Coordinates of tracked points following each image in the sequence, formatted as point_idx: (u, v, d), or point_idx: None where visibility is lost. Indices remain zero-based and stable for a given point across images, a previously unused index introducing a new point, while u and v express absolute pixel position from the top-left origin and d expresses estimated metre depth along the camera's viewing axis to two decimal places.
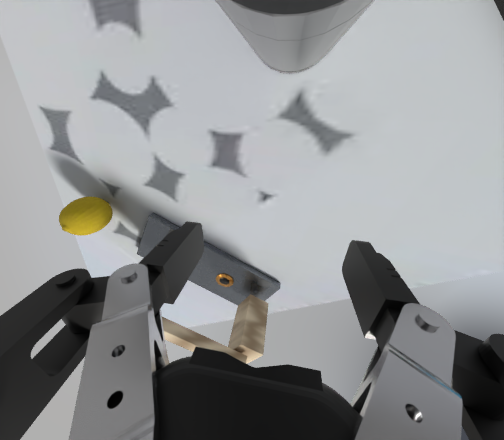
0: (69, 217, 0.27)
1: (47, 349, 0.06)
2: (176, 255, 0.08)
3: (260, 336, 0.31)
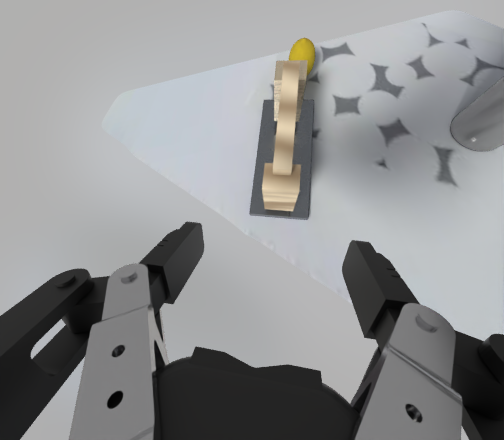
0: (312, 43, 0.38)
1: (47, 349, 0.06)
2: (176, 255, 0.08)
3: None
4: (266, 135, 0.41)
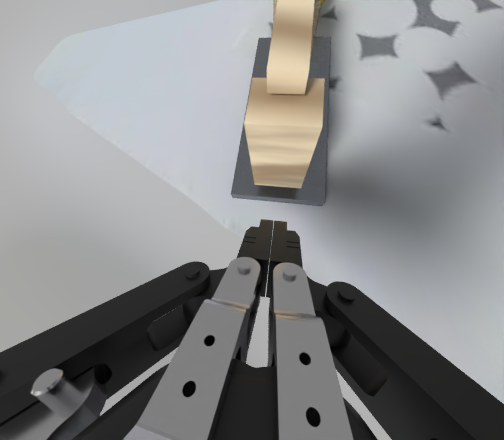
0: None
1: (165, 318, 0.07)
2: (269, 250, 0.09)
3: None
4: None
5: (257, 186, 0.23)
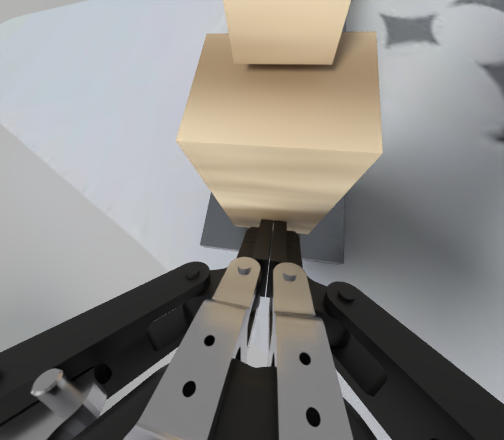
0: None
1: (165, 318, 0.07)
2: (269, 250, 0.09)
3: None
4: None
5: (240, 234, 0.15)
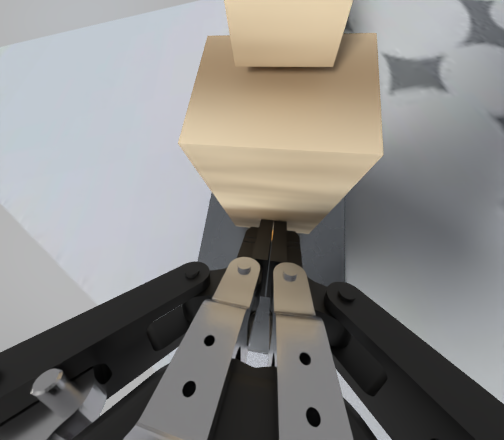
0: None
1: (165, 318, 0.07)
2: (269, 250, 0.09)
3: None
4: None
5: None
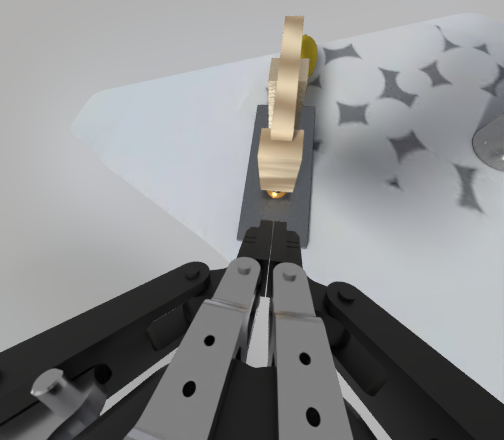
0: (314, 41, 0.33)
1: (165, 318, 0.07)
2: (269, 250, 0.09)
3: None
4: None
5: None
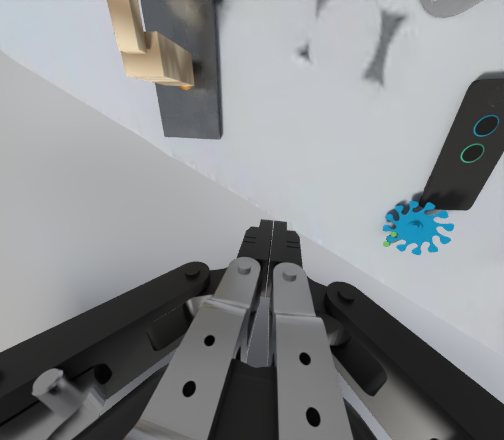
0: None
1: (165, 318, 0.07)
2: (269, 250, 0.09)
3: (173, 72, 0.25)
4: (151, 9, 0.29)
5: (178, 130, 0.36)
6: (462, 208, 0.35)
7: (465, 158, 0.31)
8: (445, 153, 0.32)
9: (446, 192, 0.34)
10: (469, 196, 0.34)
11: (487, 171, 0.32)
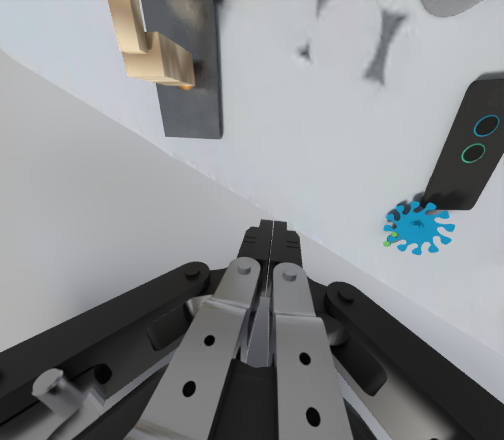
0: None
1: (165, 318, 0.07)
2: (269, 250, 0.09)
3: (173, 72, 0.25)
4: (152, 9, 0.29)
5: (179, 130, 0.36)
6: (464, 208, 0.35)
7: (466, 158, 0.31)
8: (446, 154, 0.32)
9: (448, 192, 0.34)
10: (471, 195, 0.34)
11: (488, 170, 0.32)
